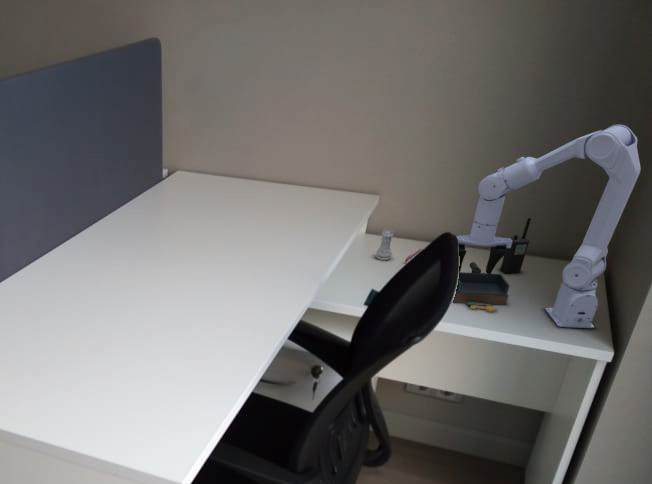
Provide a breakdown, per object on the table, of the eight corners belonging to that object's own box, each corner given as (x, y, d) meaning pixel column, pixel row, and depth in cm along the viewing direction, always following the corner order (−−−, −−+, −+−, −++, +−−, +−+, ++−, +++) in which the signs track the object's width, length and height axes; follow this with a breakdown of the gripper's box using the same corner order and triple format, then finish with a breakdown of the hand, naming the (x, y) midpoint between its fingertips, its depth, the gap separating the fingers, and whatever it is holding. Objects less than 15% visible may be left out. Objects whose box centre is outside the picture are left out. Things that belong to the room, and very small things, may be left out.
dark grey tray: (506, 295, 181) (511, 280, 179) (456, 293, 182) (460, 278, 180) (493, 277, 190) (497, 262, 188) (445, 275, 192) (449, 260, 190)
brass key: (495, 310, 178) (494, 312, 179) (495, 306, 180) (494, 308, 180) (470, 307, 180) (470, 309, 181) (470, 303, 182) (470, 305, 182)
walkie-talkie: (505, 274, 198) (521, 221, 190) (498, 269, 201) (513, 216, 193) (521, 272, 199) (537, 219, 191) (514, 267, 202) (530, 215, 193)
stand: (505, 304, 182) (508, 295, 181) (451, 302, 184) (454, 293, 183) (496, 291, 189) (499, 283, 187) (444, 289, 190) (447, 280, 189)
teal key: (469, 304, 181) (469, 302, 181) (465, 303, 183) (466, 301, 183) (490, 306, 181) (491, 304, 180) (487, 305, 183) (487, 303, 182)
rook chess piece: (372, 255, 210) (377, 228, 206) (387, 254, 211) (392, 228, 206) (378, 261, 207) (383, 234, 202) (393, 260, 207) (399, 233, 203)
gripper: (511, 217, 184) (497, 267, 191) (451, 215, 186) (440, 265, 193) (520, 227, 178) (505, 278, 186) (458, 225, 180) (446, 275, 187)
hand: (472, 272), depth 189 cm, fingers open, 7 cm apart
